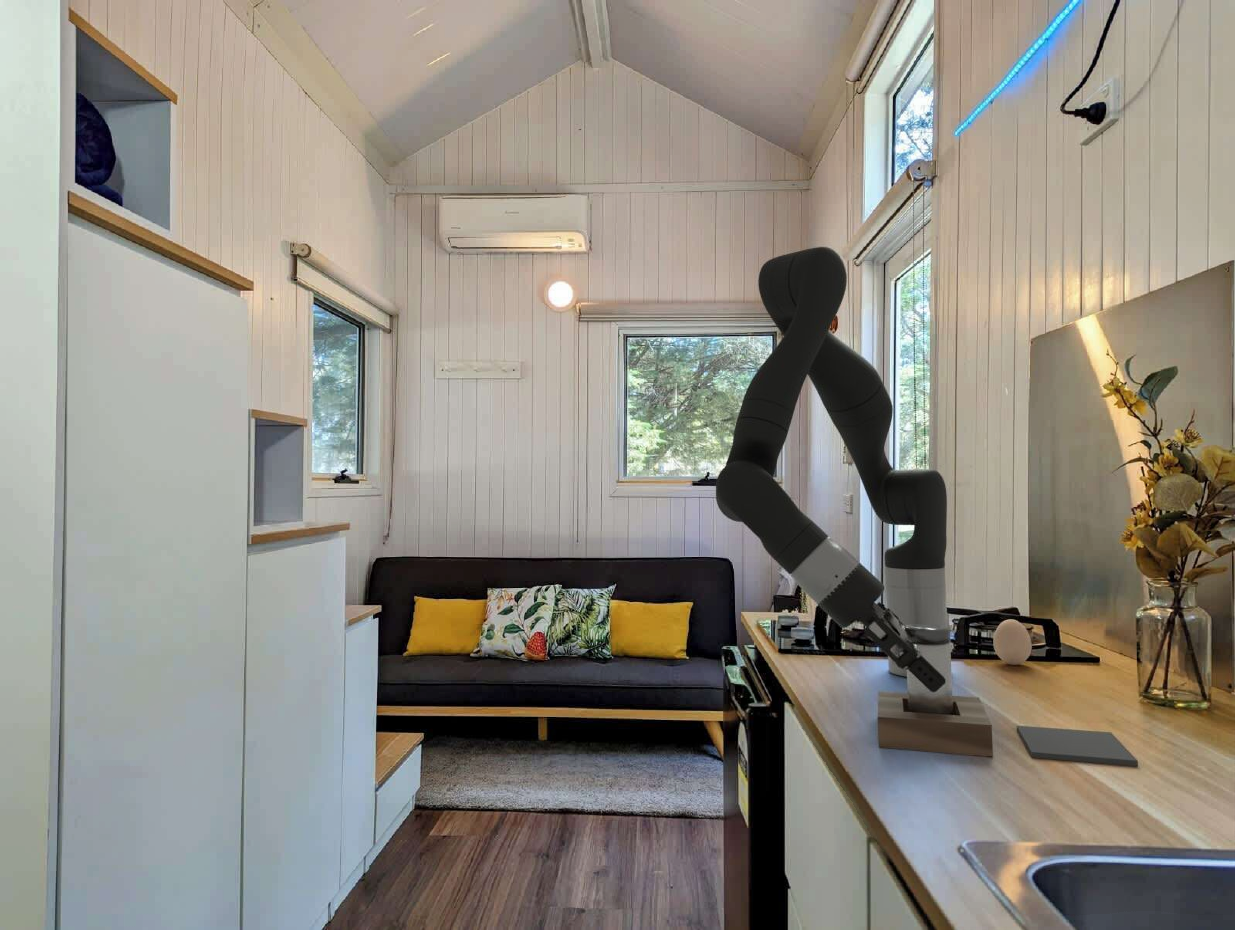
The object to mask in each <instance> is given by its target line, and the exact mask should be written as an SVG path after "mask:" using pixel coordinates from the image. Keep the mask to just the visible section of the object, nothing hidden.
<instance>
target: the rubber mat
mask: <svg viewBox="0 0 1235 930" xmlns="http://www.w3.org/2000/svg"><path fill="white" fill-rule="evenodd" d="M1016 732H1017V733H1018V735H1019V737H1020V739H1021V742H1022V743H1023V745H1024V746H1025V748H1026V749H1027V750H1026V751H1028V753H1029V755H1030V757H1031V758H1034V759H1035V758H1036V759H1043V760H1044V759H1046V760H1056V761H1057V760H1059V761H1068V762H1069V761H1071V762H1080V763H1081V762H1082V763H1095V764H1107V765H1118V766H1130V767H1139V761H1138V759H1137V758H1136V757H1135V756H1134V755H1133V754H1132V753H1131V752H1130V750H1128V749H1127V748H1126V746H1124V744H1122V742H1121V741H1120V740H1119V739H1118V738H1117V737H1116V736H1115V735H1114V734H1113V733H1112V731H1111V732H1110V731H1098V730H1097V731H1096V730H1083V729H1070V728H1068V729H1067V728H1055V727H1042V726H1028V725H1016Z"/></svg>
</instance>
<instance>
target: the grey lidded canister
mask: <svg viewBox="0 0 1235 930" xmlns="http://www.w3.org/2000/svg"><path fill="white" fill-rule="evenodd" d="M905 631H906V632H907V633H908V634H909V636H910V637H911V638H912V645H913V646H914V647H915V648H916V649H917V650H919V651H920V654H921V655H922V656H923V657H924V658H925V659H926V660H927V661H928V662H929V663H930V664H931V665H932V666H933V667H934V668H935V669H936V670H937V671H938V672H939V673H940V674H941V675H943V676H944V678H945V681H946V682H945V684H944V685H943V686H942V687H941V688H939V689H938V690H937V691H936V692H931V691H930V690H929V689H928V688H927V687H926V686H925V685H924V684H923V683H921V682H920V681H919V680H918V679H917V678H916V677H915V676H914V675H913V674H912V673H911V672H910V671H909V670H907V677H906V680H907V681H906V682H907V693H908V712H914V713H928V714H943V715H953V700H952V696H953V682H952V681H953V679H952V658H951V657H952V655H951V642H952V641H951V628H950V627H949V628H948V627H945V626H939V625H929V624H915V625H907V626H905Z"/></svg>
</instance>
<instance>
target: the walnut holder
mask: <svg viewBox="0 0 1235 930" xmlns="http://www.w3.org/2000/svg"><path fill="white" fill-rule="evenodd" d="M952 700H953V715H943V714H928V713H914V712H908V692H901V691H900V692H896V691H882V690H881V691H880V690H878V694H877V732H878V733H877V737H878V738H877V739H878V743H877V745H878V748H883V749H894V750H895V749H896V750H905V751H907V750H908V751H909V750H910V751H918V752H919V751H920V752H928V753H929V752H930V753H941V754H955V755H964V756H966V755H967V756H975V755H982V756H981V757H986V756H992V757H991V758H993V757H994V749H993V748H994V747H993V726H992V723H991V721H990V718H989V716H988V714H987V712H986V710H985V708H984V705H983V704H982V701H981V699H980V697H979V696H977V697H976V696H963V695H962V696H961V695H952Z"/></svg>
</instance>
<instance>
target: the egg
mask: <svg viewBox="0 0 1235 930" xmlns="http://www.w3.org/2000/svg"><path fill="white" fill-rule="evenodd" d="M992 644H993V648H994V649H993V650H994V651H995V654H996V655H997V656H998V658H999V659H1000V660H1001V661H1003V662H1004V663H1005V664H1007V665H1011V666H1018V665H1021V664H1023V663H1025V662H1026V660H1028V659H1029V657H1030V655H1031V653H1032V645H1033V644H1032V639H1031V635H1030V634H1029V631H1028V629H1027V628H1026V627H1025V626H1024V625H1023V624H1022V623H1021V622H1020V621H1018V620H1016V619H1013V618H1011V619H1006V620H1004V621H1001V622H1000V623H999V625H998V626H997V628H996V630H995V632H994V633H993V643H992Z"/></svg>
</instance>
